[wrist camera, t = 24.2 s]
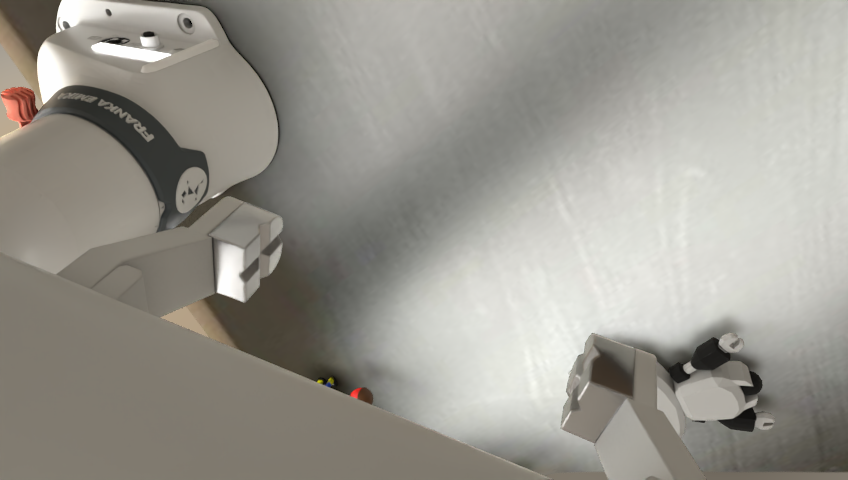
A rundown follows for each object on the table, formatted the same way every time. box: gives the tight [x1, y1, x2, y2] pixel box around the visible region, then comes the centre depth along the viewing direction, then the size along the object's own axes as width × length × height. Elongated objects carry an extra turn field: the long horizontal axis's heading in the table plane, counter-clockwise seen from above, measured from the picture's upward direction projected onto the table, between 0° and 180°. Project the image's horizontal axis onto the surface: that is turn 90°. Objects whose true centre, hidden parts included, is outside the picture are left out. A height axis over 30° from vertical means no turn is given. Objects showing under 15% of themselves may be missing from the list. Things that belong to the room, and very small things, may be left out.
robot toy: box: [569, 333, 775, 439], centre depth 52 cm, size 12×4×15 cm
